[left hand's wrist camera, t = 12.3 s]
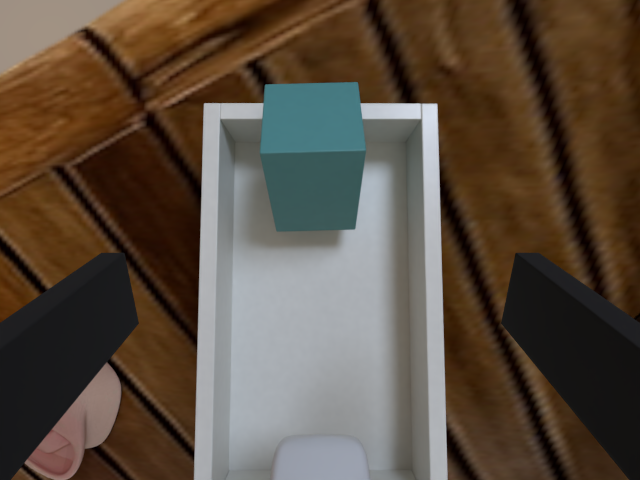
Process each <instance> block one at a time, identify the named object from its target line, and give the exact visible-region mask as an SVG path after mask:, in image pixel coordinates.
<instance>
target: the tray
mask: <svg viewBox="0 0 640 480" xmlns="http://www.w3.org/2000/svg"><path fill="white" fill-rule="evenodd" d="M361 111H362V119H363V128H364V136H365V144H366V156H365V163H364V170H363V178H362V185H361V192H360V199H359V207H358V214H357V221H356V228H355V230H323V231H286V232H277V231H276V228H275V223H274V218H273V214H272V209H271V204H270V200H269V195H268V190H267V186H266V181H265V176H264V172H263V167H262V162H261V158H260V141H261V128H262V115H263V103H221V104H220V103H204V118H203V156H202V194H201V231H200V269H199V307H198V345H197V383H196V421H195V458H194V480H270V475H271V466H272V461H273V456H274V453H275V450H276V448H277V446H278V444H279V442H280V441H281V440H282V439H283V438H285V437H287V436H291V435H310V434H331V435H349V436H354V437H356V438H357V439H358V440H359V441H360V442H361V443H362V445H363V447H364V449H365V452H366V455H367V459H368V464H369V472H370V480H447V443H446V406H445V369H444V331H443V294H442V256H441V219H440V181H439V144H438V107H437V104H362V103H361Z"/></svg>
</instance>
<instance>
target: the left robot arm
mask: <svg viewBox="0 0 640 480" xmlns="http://www.w3.org/2000/svg"><path fill="white" fill-rule="evenodd" d="M138 324H139V322H138V317H137V312H136V308H135V303H134V298H133V293H132V288H131V283H130V278H129V274H128V269H127V264H126V259H125V254H124V253H101V254H99V255H98V256H96V257H95V258H93V259H92V260H91V261H89V262H88V263H86V264H85V265H83V266H82V267H80V268H79V269H78V270H76V271H75V272H73V273H72V274H70V275H69V276H67V277H66V278H65V279H63V280H62V281H60V282H59V283H57V284H56V285H54V286H53V287H52V288H50V289H49V290H47V291H46V292H44V293H43V294H41V295H40V296H38V297H37V298H36V299H34V300H33V301H31V302H30V303H28V304H27V305H25V306H24V307H23V308H21V309H20V310H18V311H17V312H15V313H14V314H12V315H11V316H10V317H8V318H7V319H5V320H4V321H2V322H1V323H0V480H11V479H12V477H13V476H14V475H15V474H16V473H17V471H18V470H19V469H20V468H21V466H22V465H23V464H24V463H25V462H26V460H27V459H28V458H29V457H30V455H31V454H32V453H33V452H34V451H35V449H36V448H37V447H38V446H39V444H40V443H41V442H42V441H43V440H44V438H45V437H46V436H47V435H48V433H49V432H50V431H51V430H52V429H53V427H54V426H55V425H56V424H57V422H58V421H59V420H60V419H61V418H62V416H63V415H64V414H65V413H66V411H67V410H68V409H69V408H70V407H71V405H72V404H73V403H74V402H75V400H76V399H77V398H78V397H79V396H80V394H81V393H82V392H83V391H84V389H85V388H86V387H87V386H88V385H89V383H90V382H91V381H92V380H93V378H94V377H95V376H96V375H97V374H98V372H99V371H100V370H101V369H102V368H103V366H104V365H105V364H106V363H107V361H108V360H109V359H110V358H111V357H112V355H113V354H114V353H115V352H116V350H117V349H118V348H119V347H120V346H121V344H122V343H123V342H124V341H125V339H126V338H127V337H128V336H129V335H130V333H131V332H132V331H133V330H134V328H135V327H136V326H137V325H138ZM501 324H502V325H503V326H504V327H505V328H506V330H507V331H508V332H509V333H510V335H511V336H512V337H513V338H514V339H515V341H516V342H517V343H518V344H519V346H520V347H521V348H522V349H523V350H524V352H525V353H526V354H527V355H528V357H529V358H530V359H531V360H532V361H533V363H534V364H535V365H536V366H537V368H538V369H539V370H540V371H541V372H542V374H543V375H544V376H545V377H546V378H547V380H548V381H549V382H550V383H551V385H552V386H553V387H554V388H555V389H556V391H557V392H558V393H559V394H560V396H561V397H562V398H563V399H564V400H565V402H566V403H567V404H568V405H569V407H570V408H571V409H572V410H573V411H574V413H575V414H576V415H577V416H578V418H579V419H580V420H581V421H582V422H583V424H584V425H585V426H586V427H587V429H588V430H589V431H590V432H591V433H592V435H593V436H594V437H595V438H596V440H597V441H598V442H599V443H600V444H601V446H602V447H603V448H604V449H605V451H606V452H607V453H608V454H609V455H610V457H611V458H612V459H613V460H614V462H615V463H616V464H617V465H618V466H619V468H620V469H621V470H622V471H623V473H624V474H625V475H626V476H627V477H628V479H629V480H640V316H639V317H638V318H637V319H636V320H635V319H633V318H632V317H630V316H629V315H628V314H626V313H625V312H623V311H622V310H620V309H619V308H617V307H616V306H615V305H613V304H612V303H610V302H609V301H607V300H606V299H604V298H603V297H602V296H600V295H599V294H597V293H596V292H594V291H593V290H591V289H590V288H588V287H587V286H586V285H584V284H583V283H581V282H580V281H578V280H577V279H575V278H574V277H573V276H571V275H570V274H568V273H567V272H565V271H564V270H562V269H561V268H560V267H558V266H557V265H555V264H554V263H552V262H551V261H549V260H548V259H547V258H545V257H544V256H542V255H541V254H539V253H516V254H515V259H514V264H513V269H512V274H511V278H510V283H509V288H508V293H507V298H506V303H505V308H504V312H503V317H502V322H501Z"/></svg>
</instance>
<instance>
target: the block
mask: <svg viewBox="0 0 640 480" xmlns="http://www.w3.org/2000/svg"><path fill="white" fill-rule="evenodd" d="M365 156H366V144H365V136H364V128H363V119H362V111H361V103H360V95H359V87H358V83H357V82H345V83H306V84H267V85H265V90H264V103H263V115H262V128H261V141H260V158H261V162H262V167H263V172H264V176H265V181H266V186H267V190H268V195H269V200H270V204H271V209H272V214H273V218H274V223H275V228H276V231H277V232H286V231H323V230H355V228H356V221H357V214H358V207H359V199H360V192H361V185H362V178H363V170H364V163H365Z"/></svg>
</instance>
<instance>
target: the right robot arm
mask: <svg viewBox="0 0 640 480" xmlns="http://www.w3.org/2000/svg"><path fill="white" fill-rule="evenodd" d="M270 480H370V472H369V464H368V459H367V455H366V452H365V449H364V447H363V445H362V443H361V442H360V441H359V440H358V439H357V438H356V437H354V436H349V435H331V434H310V435H291V436H287V437H285V438H283V439H282V440H281V441H280V442H279V444H278V446H277V448H276V450H275V453H274V456H273V461H272V466H271V475H270Z"/></svg>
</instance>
